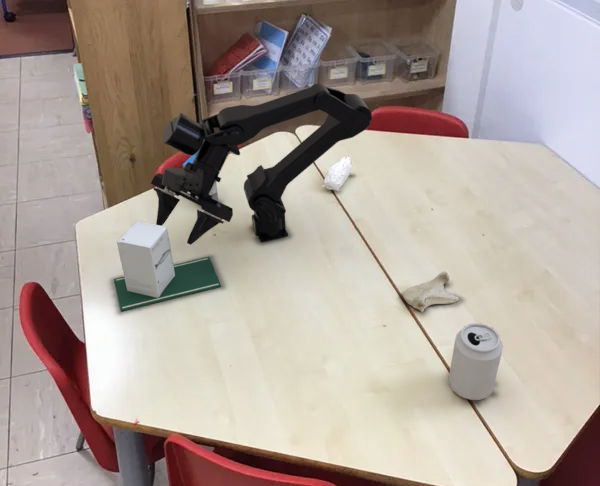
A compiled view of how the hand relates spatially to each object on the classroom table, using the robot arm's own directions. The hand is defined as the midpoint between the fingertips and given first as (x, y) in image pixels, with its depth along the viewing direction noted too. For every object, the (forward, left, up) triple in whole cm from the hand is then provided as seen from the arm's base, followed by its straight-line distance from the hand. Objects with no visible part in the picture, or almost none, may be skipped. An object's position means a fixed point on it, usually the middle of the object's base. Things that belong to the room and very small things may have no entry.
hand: (173, 235), depth 135 cm
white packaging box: (+6, +3, -9) cm, 11 cm away
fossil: (-45, +27, -9) cm, 53 cm away
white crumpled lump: (-30, -15, -6) cm, 34 cm away
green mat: (+3, +4, -9) cm, 10 cm away
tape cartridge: (-11, -24, -9) cm, 28 cm away
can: (-40, +49, -9) cm, 64 cm away
